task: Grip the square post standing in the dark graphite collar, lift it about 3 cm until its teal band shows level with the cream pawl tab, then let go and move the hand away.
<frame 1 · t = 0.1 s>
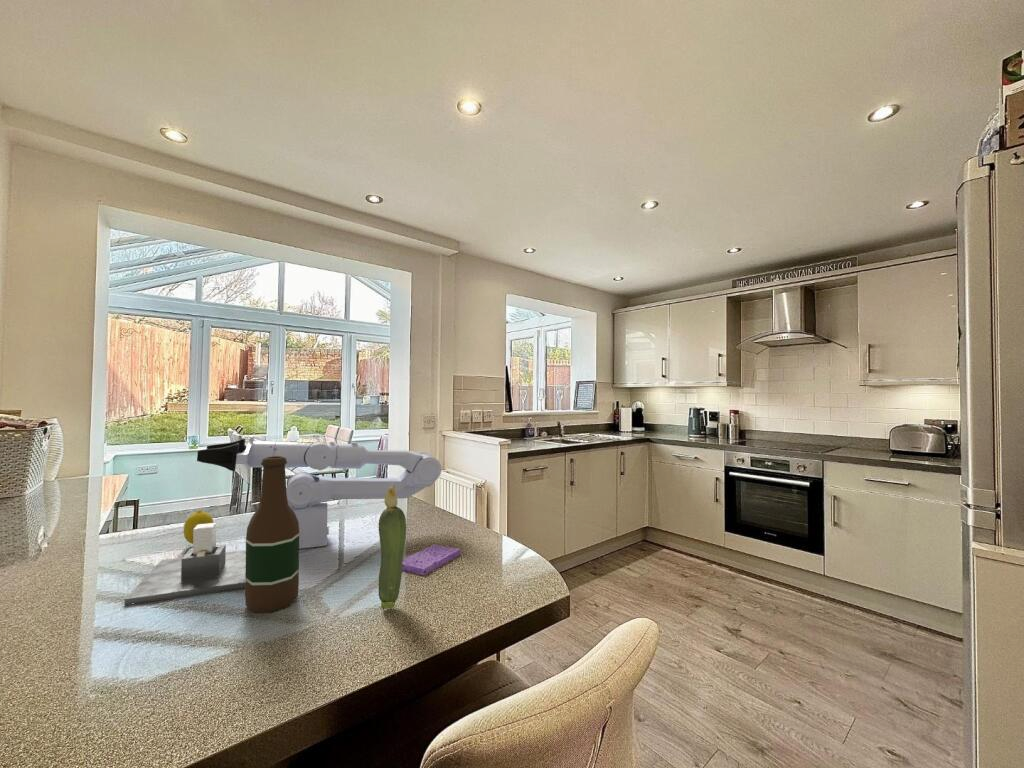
hand: (202, 453, 94), 22 cm above the kitchen island, tool horizontal, fingers open, 7 cm apart
lemon: (198, 547, 99), on the kitchen island
vegetable: (391, 608, 72), on the kitchen island
beer bottle: (272, 604, 73), on the kitchen island
sponges: (429, 564, 92), on the kitchen island
post: (204, 547, 84), point 5 cm above the kitchen island, slide at 0.0 cm
stand base: (204, 575, 84), on the kitchen island
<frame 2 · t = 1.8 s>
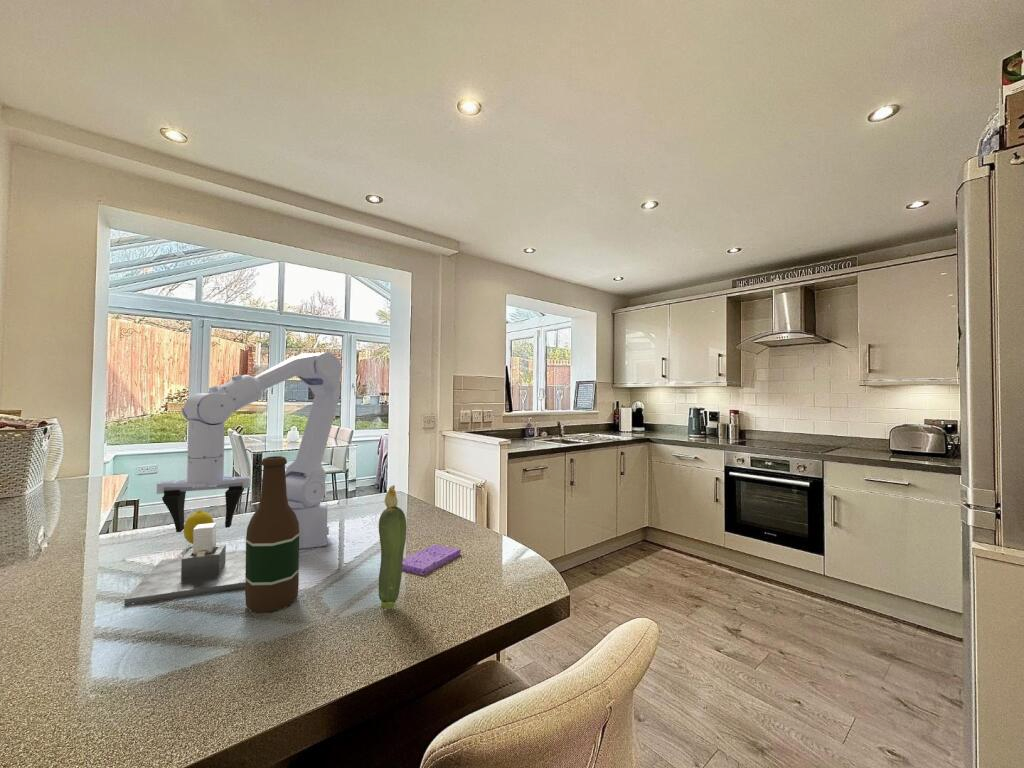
hand: (204, 528, 84), 9 cm above the kitchen island, tool pointing down, fingers open, 7 cm apart
nothing on the kitchen island moved.
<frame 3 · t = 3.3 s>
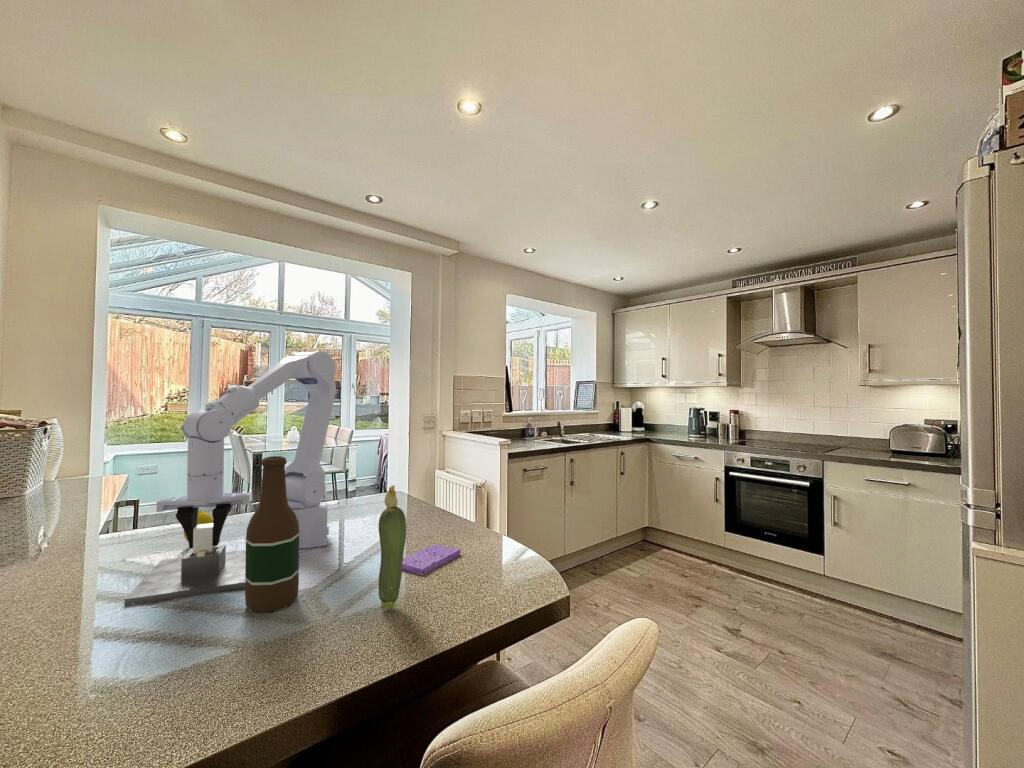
hand: (204, 545, 84), 6 cm above the kitchen island, tool pointing down, fingers closed on post, 3 cm apart
post: (204, 547, 84), point 5 cm above the kitchen island, slide at 0.0 cm, touching gripper
everything else where it was.
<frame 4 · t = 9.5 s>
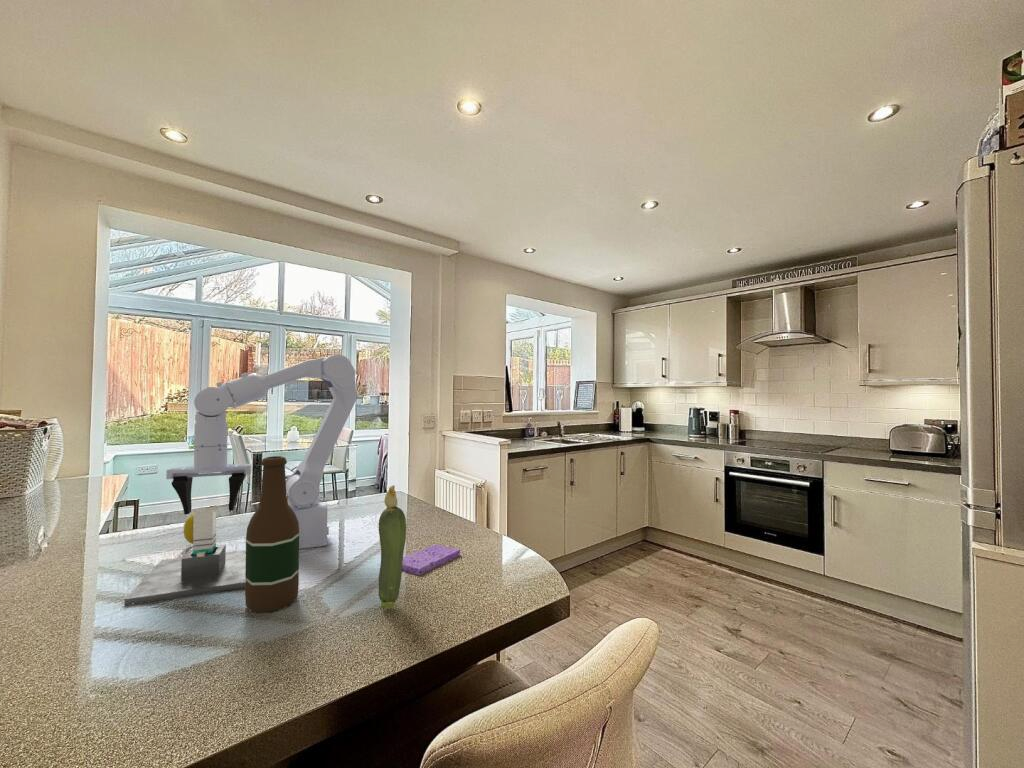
hand: (210, 511, 92), 10 cm above the kitchen island, tool pointing down, fingers open, 7 cm apart
post: (204, 531, 84), point 8 cm above the kitchen island, slide at 2.9 cm
everything else where it was.
at the end: post slide at 2.9 cm; the gripper is holding nothing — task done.
